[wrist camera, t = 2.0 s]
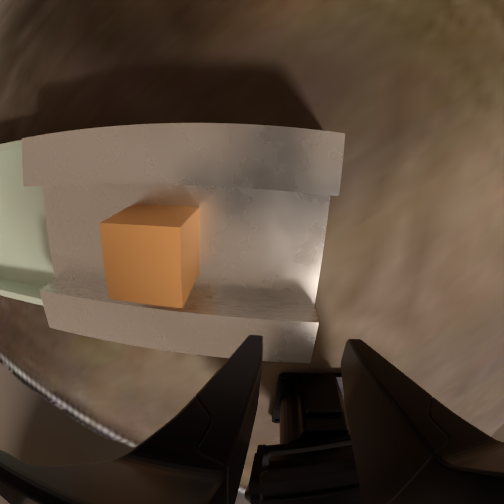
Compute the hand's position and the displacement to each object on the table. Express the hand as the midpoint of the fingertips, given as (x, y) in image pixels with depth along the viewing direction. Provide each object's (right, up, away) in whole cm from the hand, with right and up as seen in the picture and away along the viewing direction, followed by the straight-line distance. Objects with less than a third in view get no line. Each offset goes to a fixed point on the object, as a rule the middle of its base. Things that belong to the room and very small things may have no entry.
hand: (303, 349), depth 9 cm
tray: (-21, +6, +12) cm, 25 cm away
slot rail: (-6, +5, +11) cm, 14 cm away
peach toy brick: (-7, +4, +9) cm, 11 cm away
